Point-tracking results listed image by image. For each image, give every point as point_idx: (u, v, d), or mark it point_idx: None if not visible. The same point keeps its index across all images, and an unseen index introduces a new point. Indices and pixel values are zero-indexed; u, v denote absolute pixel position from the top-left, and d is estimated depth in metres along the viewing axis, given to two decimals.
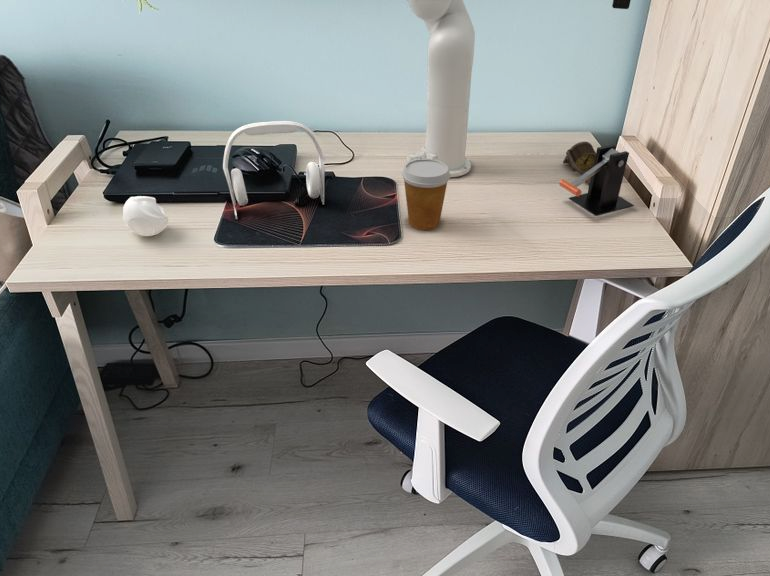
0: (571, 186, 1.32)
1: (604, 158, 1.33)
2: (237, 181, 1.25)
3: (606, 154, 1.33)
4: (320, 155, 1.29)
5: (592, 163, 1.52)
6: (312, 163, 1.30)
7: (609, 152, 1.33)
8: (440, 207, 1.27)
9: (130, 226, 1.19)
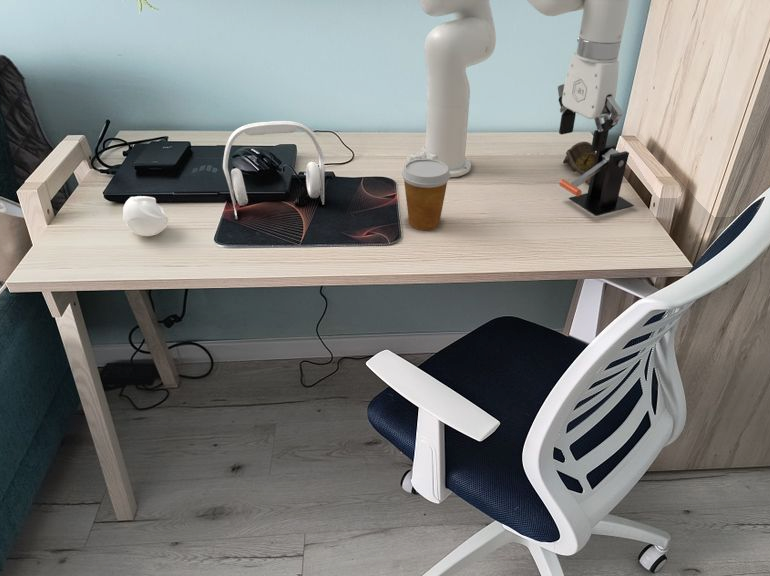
0: (571, 186, 1.32)
1: (604, 158, 1.33)
2: (237, 181, 1.25)
3: (606, 154, 1.33)
4: (320, 155, 1.29)
5: (592, 163, 1.52)
6: (312, 163, 1.30)
7: (609, 152, 1.33)
8: (440, 207, 1.27)
9: (130, 226, 1.19)
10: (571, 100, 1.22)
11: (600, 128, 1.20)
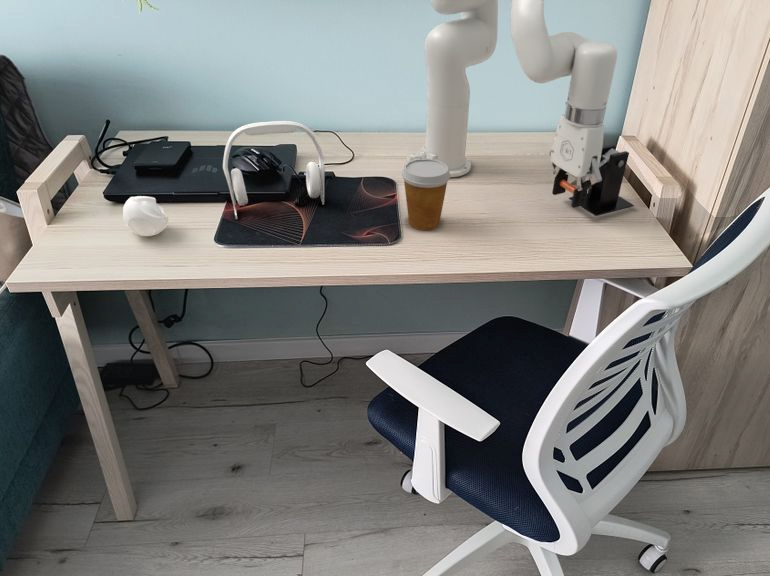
0: (571, 186, 1.32)
1: (604, 158, 1.33)
2: (237, 181, 1.25)
3: (606, 154, 1.33)
4: (320, 155, 1.29)
5: None
6: (312, 163, 1.30)
7: (609, 152, 1.33)
8: (440, 207, 1.27)
9: (130, 226, 1.19)
10: (559, 158, 1.29)
11: (579, 187, 1.28)
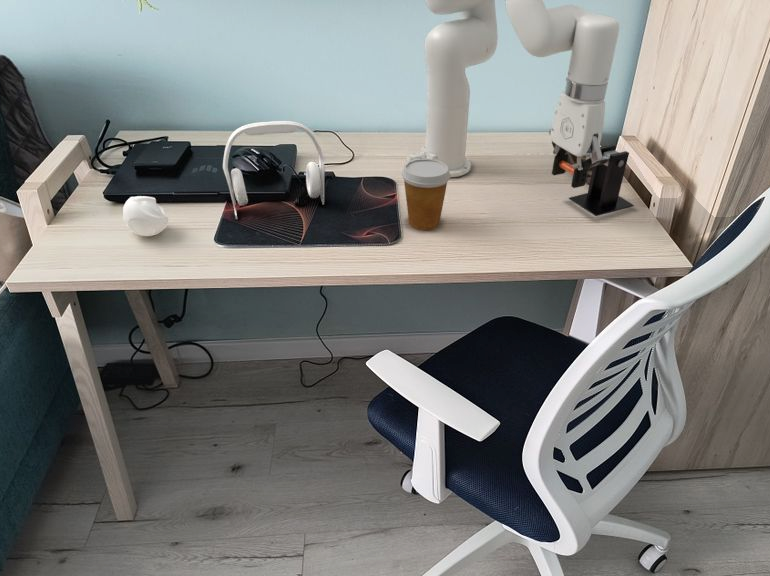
0: (572, 166, 1.29)
1: (605, 155, 1.33)
2: (237, 181, 1.25)
3: (608, 152, 1.33)
4: (320, 155, 1.29)
5: None
6: (312, 163, 1.30)
7: (611, 151, 1.33)
8: (440, 207, 1.27)
9: (130, 226, 1.19)
10: (559, 137, 1.25)
11: (580, 167, 1.25)
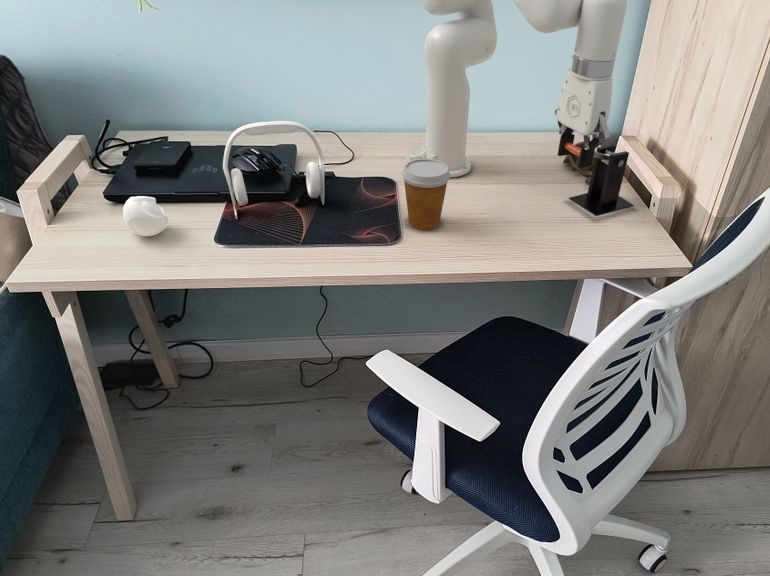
0: (579, 148, 1.27)
1: (607, 153, 1.33)
2: (237, 181, 1.25)
3: (610, 151, 1.33)
4: (320, 155, 1.29)
5: (592, 163, 1.52)
6: (312, 163, 1.30)
7: (612, 152, 1.34)
8: (440, 207, 1.27)
9: (130, 226, 1.19)
10: (565, 115, 1.23)
11: (586, 146, 1.23)
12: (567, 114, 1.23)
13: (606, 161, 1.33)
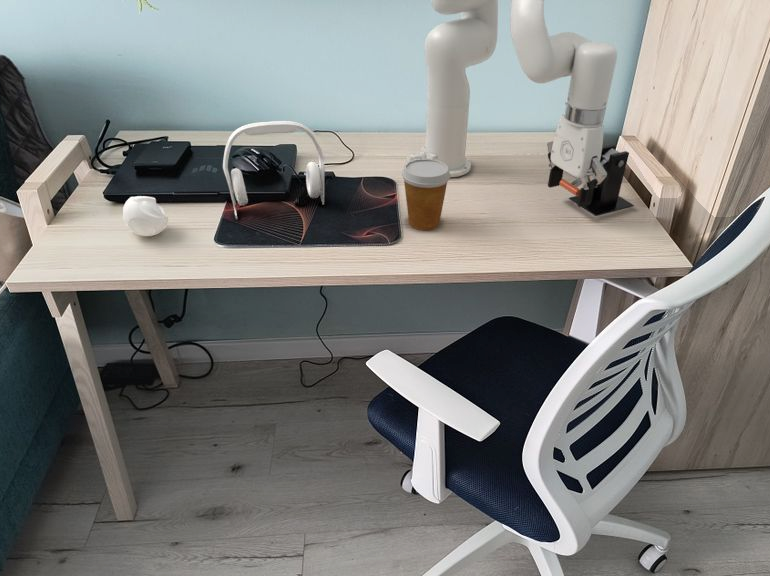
0: (571, 186, 1.32)
1: (604, 158, 1.33)
2: (237, 181, 1.25)
3: (606, 154, 1.33)
4: (320, 155, 1.29)
5: None
6: (312, 163, 1.30)
7: (609, 152, 1.33)
8: (440, 207, 1.27)
9: (130, 226, 1.19)
10: (559, 158, 1.29)
11: (586, 186, 1.27)
12: (561, 157, 1.28)
13: (607, 165, 1.34)
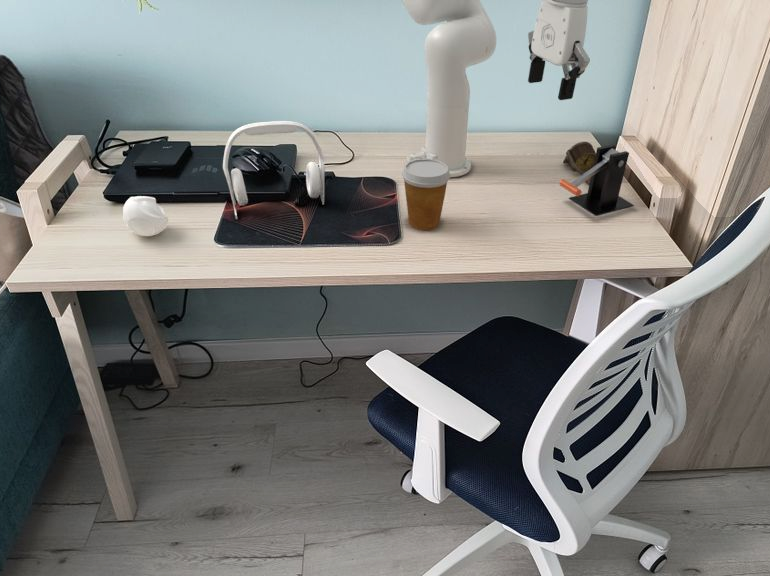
0: (571, 186, 1.32)
1: (604, 158, 1.33)
2: (237, 181, 1.25)
3: (606, 154, 1.33)
4: (320, 155, 1.29)
5: (592, 163, 1.52)
6: (312, 163, 1.30)
7: (609, 152, 1.33)
8: (440, 207, 1.27)
9: (130, 226, 1.19)
10: (540, 46, 1.21)
11: (567, 76, 1.19)
12: (542, 44, 1.20)
13: (607, 165, 1.34)
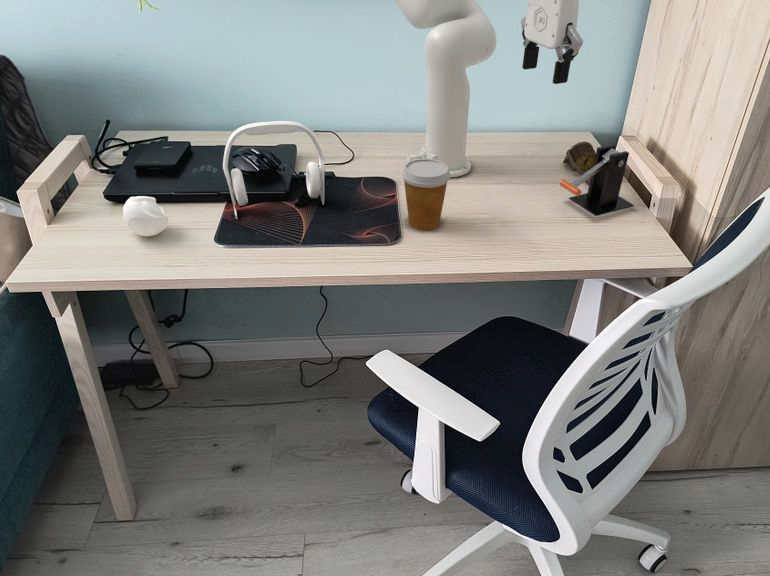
0: (571, 186, 1.32)
1: (604, 158, 1.33)
2: (237, 181, 1.25)
3: (606, 154, 1.33)
4: (320, 155, 1.29)
5: (592, 163, 1.52)
6: (312, 163, 1.30)
7: (609, 152, 1.33)
8: (440, 207, 1.27)
9: (130, 226, 1.19)
10: (533, 31, 1.20)
11: (561, 58, 1.18)
12: (534, 29, 1.20)
13: (607, 165, 1.34)
